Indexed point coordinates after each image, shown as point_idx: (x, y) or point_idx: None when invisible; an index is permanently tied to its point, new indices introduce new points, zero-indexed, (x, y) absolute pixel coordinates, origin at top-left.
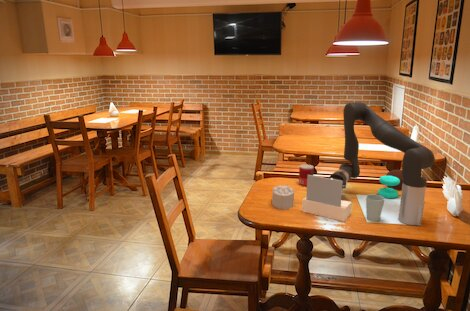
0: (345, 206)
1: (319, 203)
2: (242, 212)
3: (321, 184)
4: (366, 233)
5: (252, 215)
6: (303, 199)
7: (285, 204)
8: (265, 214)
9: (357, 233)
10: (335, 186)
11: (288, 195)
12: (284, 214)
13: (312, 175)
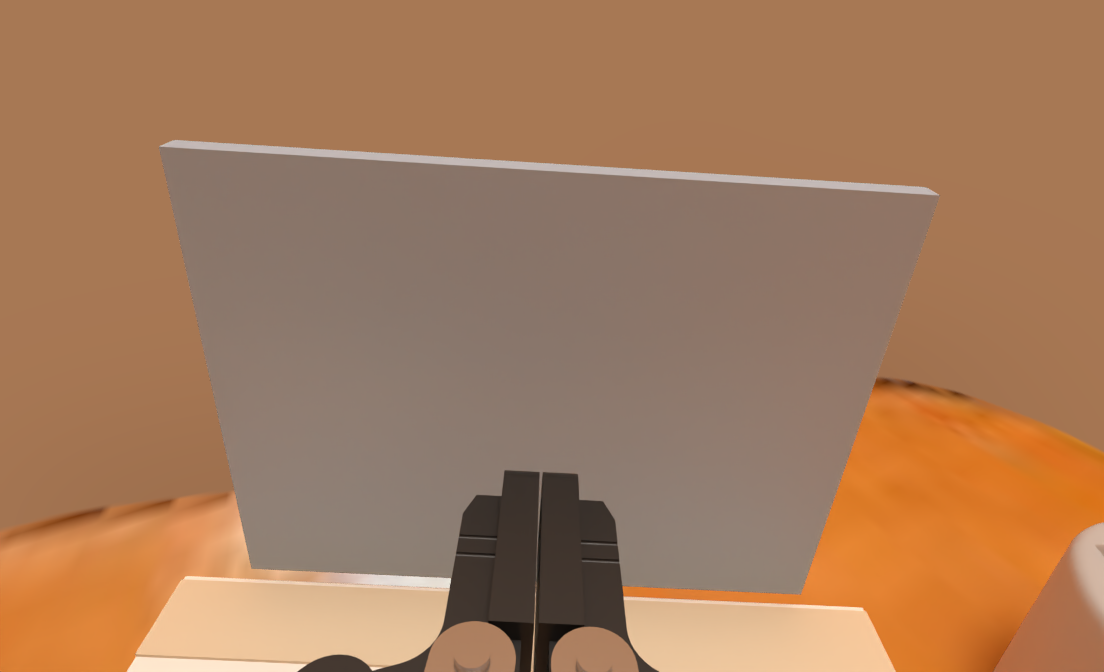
0: (160, 653)
1: None
2: (1099, 451)
3: (597, 305)
4: (10, 546)
5: (1000, 443)
6: (852, 611)
7: (1018, 631)
8: (967, 490)
9: (116, 513)
10: (323, 277)
11: (1074, 572)
12: (868, 558)
13: (837, 188)
